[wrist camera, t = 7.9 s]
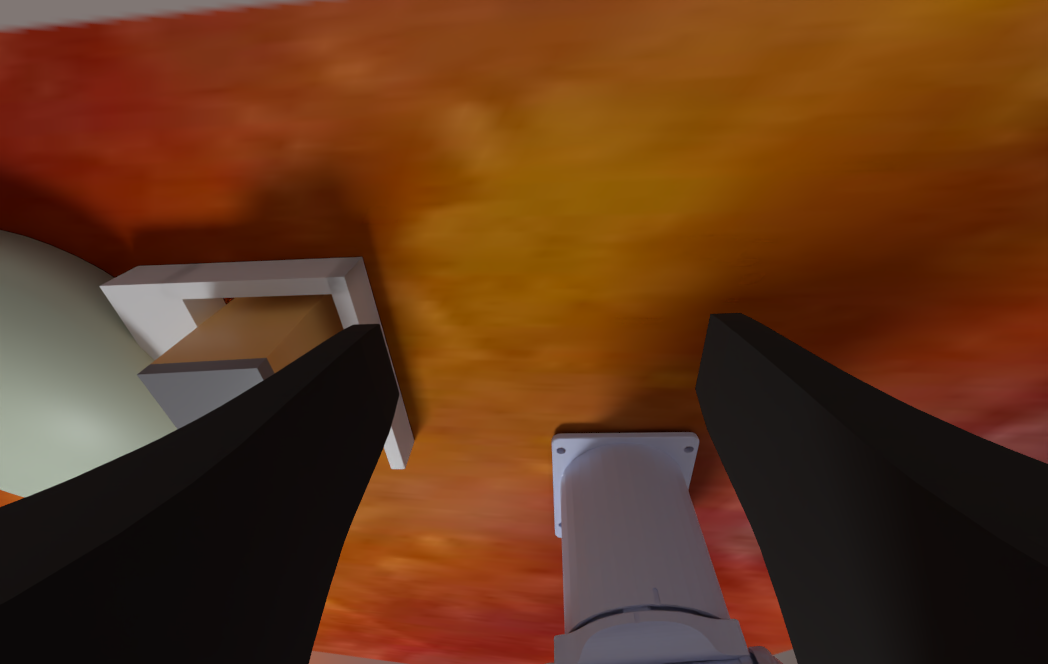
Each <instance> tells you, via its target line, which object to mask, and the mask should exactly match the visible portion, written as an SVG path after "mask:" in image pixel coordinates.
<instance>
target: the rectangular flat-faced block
mask: <svg viewBox="0 0 1048 664" xmlns="http://www.w3.org/2000/svg"><path fill="white" fill-rule="evenodd" d="M342 330H344V329H343V326H342V323H341V320H340V317H339V314H338V311H337V308H336V305H335V303H334V300H333V297H332V294H321V295H292V296H263V297H235V298H234V299H233V300H231V301H230V302H229V303H228V304H226V305H225V306H224V307H223V308H221V309H220V310H219V311H217V312H216V313H215V314H214V315H212V316H211V317H210V318H208V319H207V320H206V321H205V322H203V323H202V324H201V325H200V326H198V327H197V328H196V329H194V330H193V331H192V332H191V333H189V334H188V335H187V336H185V337H184V338H183V339H182V340H180V341H179V342H178V343H177V344H175V345H174V346H173V347H171V348H170V349H169V350H168V351H166V352H165V353H164V354H162V355H161V356H160V357H159V358H157V359H156V360H155V361H154V362H152V363H151V364H150V365H148V366H147V367H146V368H145V369H143V370H142V371H141V372H139V373H138V374H137V376H138V377H139V378H140V380H141V381H142V382H143V384H144V385H145V386H146V388H147V389H148V390H149V392H150V393H151V395H152V396H153V397H154V399H155V400H156V401H157V403H158V404H159V405H160V407H161V408H162V409H163V411H164V412H165V413H166V415H167V416H168V417H169V419H170V420H171V421H172V423H173V424H174V425H175V427H176V428H177V429H179V428H181V427H183V426H185V425H187V424H189V423H191V422H193V421H195V420H196V419H198V418H200V417H202V416H204V415H206V414H207V413H209V412H211V411H213V410H215V409H216V408H218V407H220V406H222V405H223V404H225V403H227V402H228V401H230V400H232V399H233V398H235V397H237V396H238V395H240V394H242V393H243V392H245V391H247V390H248V389H250V388H252V387H253V386H255V385H257V384H258V383H260V382H262V381H263V380H265V379H266V378H268V377H270V376H271V375H273V374H275V373H276V372H278V371H279V370H281V369H282V368H284V367H285V366H287V365H288V364H290V363H292V362H293V361H295V360H296V359H298V358H299V357H301V356H302V355H304V354H305V353H307V352H309V351H310V350H312V349H313V348H315V347H316V346H318V345H319V344H321V343H322V342H324V341H326V340H327V339H329V338H330V337H332V336H333V335H335V334H337V333H338V332H340V331H342Z"/></svg>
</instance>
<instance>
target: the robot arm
mask: <svg viewBox="0 0 1048 664" xmlns="http://www.w3.org/2000/svg"><path fill="white" fill-rule="evenodd" d="M695 389H696V393H697V396H698V400H699V403H700V407H701V411H702V414H703V417H704V420H705V424H706V427H707V430H708V432H709V434H710V437H711V439H712V441H713V443H714V446H715V448H716V450H717V452H718V454H719V457H720V459H721V461H722V463H723V466H724V468H725V470H726V472H727V474H728V476H729V479H730V481H731V483H732V485H733V487H734V489H735V492H736V494H737V496H738V498H739V500H740V503H741V505H742V507H743V509H744V511H745V513H746V516H747V518H748V520H749V522H750V524H751V527H752V529H753V532H754V534H755V537H756V539H757V542H758V544H759V546H760V549H761V552H762V555H763V558H764V561H765V564H766V567H767V570H768V573H769V576H770V578H771V581H772V584H773V587H774V590H775V593H776V596H777V599H778V602H779V605H780V609H781V612H782V615H783V618H784V621H785V624H786V628H787V631H788V634H789V637H790V640H791V643H792V647H793V650H794V653H795V656H796V659H797V663H798V664H1048V464H1046V463H1044V462H1041V461H1039V460H1036V459H1033V458H1031V457H1028V456H1026V455H1023V454H1020V453H1018V452H1015V451H1013V450H1010V449H1008V448H1005V447H1003V446H1000V445H998V444H996V443H993V442H991V441H988V440H986V439H983V438H981V437H979V436H976V435H974V434H972V433H969V432H967V431H965V430H963V429H961V428H958V427H956V426H954V425H952V424H949V423H947V422H945V421H943V420H940V419H938V418H936V417H934V416H932V415H929V414H927V413H925V412H923V411H920V410H918V409H916V408H914V407H912V406H910V405H908V404H906V403H904V402H902V401H900V400H898V399H896V398H894V397H892V396H890V395H888V394H886V393H884V392H882V391H880V390H878V389H876V388H874V387H873V386H871V385H869V384H867V383H865V382H863V381H861V380H859V379H857V378H855V377H853V376H852V375H850V374H848V373H846V372H844V371H843V370H841V369H839V368H837V367H835V366H834V365H832V364H830V363H828V362H826V361H825V360H823V359H821V358H819V357H818V356H816V355H814V354H813V353H811V352H809V351H807V350H806V349H804V348H802V347H801V346H799V345H797V344H795V343H794V342H792V341H790V340H789V339H787V338H785V337H784V336H782V335H780V334H778V333H777V332H775V331H773V330H772V329H770V328H768V327H766V326H765V325H763V324H761V323H759V322H757V321H756V320H754V319H752V318H750V317H748V316H746V315H744V314H741V313H725V314H710V319H709V324H708V329H707V334H706V339H705V344H704V349H703V354H702V358H701V363H700V368H699V373H698V378H697V383H696V388H695ZM399 394H400V393H399V390H398V386H397V383H396V379H395V376H394V372H393V369H392V365H391V362H390V358H389V355H388V351H387V348H386V344H385V341H384V337H383V334H382V330H381V327H380V324H354V325H351V326H349V327H347V328H345V329H344V330H342V331H340V332H338V333H337V334H335V335H333V336H332V337H330V338H329V339H327V340H326V341H324V342H322V343H321V344H319V345H318V346H316V347H315V348H313V349H312V350H310V351H309V352H307V353H305V354H304V355H302V356H301V357H299V358H298V359H296V360H295V361H293V362H292V363H290V364H288V365H287V366H285V367H284V368H282V369H281V370H279V371H278V372H276V373H275V374H273V375H271V376H270V377H268V378H266V379H265V380H263V381H262V382H260V383H258V384H257V385H255V386H253V387H252V388H250V389H248V390H247V391H245V392H243V393H242V394H240V395H238V396H237V397H235V398H233V399H232V400H230V401H228V402H227V403H225V404H223V405H222V406H220V407H218V408H216V409H215V410H213V411H211V412H209V413H207V414H206V415H204V416H202V417H200V418H198V419H196V420H195V421H193V422H191V423H189V424H187V425H185V426H183V427H181V428H179V429H177V430H175V431H173V432H171V433H169V434H167V435H165V436H163V437H162V438H160V439H158V440H155V441H153V442H151V443H149V444H147V445H145V446H143V447H141V448H139V449H136V450H134V451H132V452H130V453H128V454H125V455H123V456H121V457H119V458H116V459H114V460H112V461H110V462H108V463H105V464H103V465H101V466H99V467H96V468H94V469H92V470H90V471H88V472H85V473H83V474H81V475H79V476H77V477H74V478H72V479H70V480H67V481H65V482H62V483H60V484H58V485H55V486H53V487H50V488H48V489H45V490H43V491H40V492H38V493H35V494H33V495H30V496H28V497H26V498H23V499H21V500H18V501H15V502H13V503H10V504H8V505H5V506H2V507H0V664H309V660H310V656H311V652H312V648H313V645H314V641H315V638H316V634H317V631H318V627H319V624H320V620H321V616H322V613H323V609H324V606H325V602H326V599H327V595H328V592H329V589H330V585H331V582H332V579H333V576H334V573H335V569H336V566H337V563H338V560H339V557H340V553H341V550H342V547H343V544H344V541H345V539H346V536H347V533H348V531H349V528H350V525H351V523H352V520H353V518H354V516H355V513H356V511H357V509H358V506H359V504H360V502H361V499H362V497H363V495H364V492H365V490H366V488H367V485H368V483H369V481H370V478H371V476H372V473H373V471H374V469H375V466H376V464H377V462H378V459H379V457H380V455H381V452H382V450H383V447H384V445H385V442H386V440H387V437H388V435H389V432H390V429H391V425H392V422H393V418H394V415H395V411H396V407H397V402H398V398H399ZM689 446H690V447H689ZM698 446H699V439H698V436H697V435H696V434H695V433H693V432H649V433H561V434H556V435H554V436H553V437H552V462H553V490H554V517H555V534H556V536H557V537H560V538H562V559H563V589H564V619H565V634H563V635H556V636H555V637H554V663H546V664H783V663H782V662H780V661H779V660H778V659H777V658H775V657H774V656H772V654H771V653H770V652H769V651H768V650H767V649H766V648H765V647H762V646H754V647H749V648H747V645H746V642H745V639H744V637H743V634H742V631H741V628H740V625H739V622H738V620H736V619H730V616H729V613H728V610H727V607H726V604H725V601H724V598H723V595H722V592H721V589H720V586H719V583H718V580H717V577H716V574H715V571H714V568H713V564H712V561H711V558H710V555H709V552H708V549H707V546H706V543H705V540H704V537H703V534H702V531H701V528H700V525H699V522H698V519H697V516H696V513H695V510H694V506H693V503H692V500H691V497H690V494H689V491H688V489H689V485H690V481H691V476H692V472H693V468H694V463H695V459H696V455H697V450H698ZM560 448H562V449H560Z"/></svg>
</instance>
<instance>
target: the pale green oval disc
mask: <svg viewBox="0 0 1048 664" xmlns="http://www.w3.org/2000/svg"><path fill="white" fill-rule="evenodd" d="M321 294H332V297H333V300H334V303H335V305H336V308H337V311H338V314H339V317H340V320H341V323H342V326H343V329H345V328H347V327H349V326H351V325H354V324H380V327H381V330H382V334H383V337H384V341H385V344H386V348H387V351H388V355H389V358H390V362H391V365H392V369H393V372H394V376H395V379H396V383H397V386H398V390H399V393H400V394H399V398H398V402H397V407H396V411H395V415H394V418H393V422H392V425H391V429H390V432H389V435H388V437H387V440H386V442H385V445H384V449H385V452H386V454H387V457H388V460H389V463H390V466H391V469H405V467H406V464H407V461H408V459H409V456H410V453H411V450H412V447H413V444H414V438H413V434H412V431H411V427H410V424H409V420H408V417H407V413H406V410H405V406H404V403H403V399H402V396H401V392H400V389H399V385H398V381H397V378H396V374H395V371H394V367H393V364H392V360H391V357H390V353H389V350H388V346H387V343H386V339H385V336H384V332H383V329H382V325H381V322H380V318H379V315H378V311H377V307H376V304H375V300H374V297H373V293H372V290H371V286H370V283H369V279H368V276H367V272H366V269H365V265H364V262H363V258H362V257H348V258H323V259H299V260H274V261H250V262H225V263H200V264H176V265H151V266H137V267H135V268H133V269H131V270H129V271H127V272H125V273H123V274H121V275H119V276H118V277H116V278H114V277H112V276H111V275H109V274H108V273H106V272H105V271H103V270H101V269H99V268H98V267H96V266H94V265H92V264H90V263H88V262H86V261H84V260H82V259H81V258H79V257H77V256H75V255H72V254H70V253H68V252H65V251H63V250H61V249H59V248H56V247H54V246H52V245H49V244H46V243H43V242H41V241H38V240H35V239H32V238H29V237H26V236H23V235H19V234H15V233H11V232H7V231H3V230H0V490H3V491H6V492H9V493H12V494H15V495H19V496H22V497H25V498H26V497H28V496H30V495H33V494H35V493H38V492H40V491H43V490H45V489H48V488H50V487H53V486H55V485H58V484H60V483H62V482H65V481H67V480H70V479H72V478H74V477H77V476H79V475H81V474H83V473H85V472H88V471H90V470H92V469H94V468H96V467H99V466H101V465H103V464H105V463H108V462H110V461H112V460H114V459H116V458H119V457H121V456H123V455H125V454H128V453H130V452H132V451H134V450H136V449H139V448H141V447H143V446H145V445H147V444H149V443H151V442H153V441H155V440H158V439H160V438H162V437H163V436H165V435H167V434H169V433H171V432H173V431H175V430H177V428H176V427H175V425H174V424H173V423H172V421H171V420H170V419H169V417H168V416H167V415H166V413H165V412H164V411H163V409H162V408H161V407H160V405H159V404H158V403H157V401H156V400H155V399H154V397H153V396H152V395H151V393H150V392H149V390H148V389H147V388H146V386H145V385H144V384H143V382H142V381H141V380H140V378H139V377H138V376H137V374H138V373H139V372H141V371H142V370H143V369H145V368H146V367H147V366H148V365H150V364H151V363H152V362H154V361H155V360H156V359H157V358H159V357H160V356H161V355H162V354H164V353H165V352H166V351H168V350H169V349H170V348H171V347H173V346H174V345H175V344H177V343H178V342H179V341H180V340H182V339H183V338H184V337H185V336H187V335H188V334H189V333H191V332H192V331H193V330H194V329H196V328H197V327H198V326H200V325H201V324H202V323H203V322H205V321H206V320H207V319H208V318H210V317H211V316H212V315H214V314H215V313H216V312H217V311H219V310H220V309H221V308H223V307H224V306H225V305H226V303H225V301H224V299H223V298H234V297H263V296H292V295H321Z"/></svg>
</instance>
